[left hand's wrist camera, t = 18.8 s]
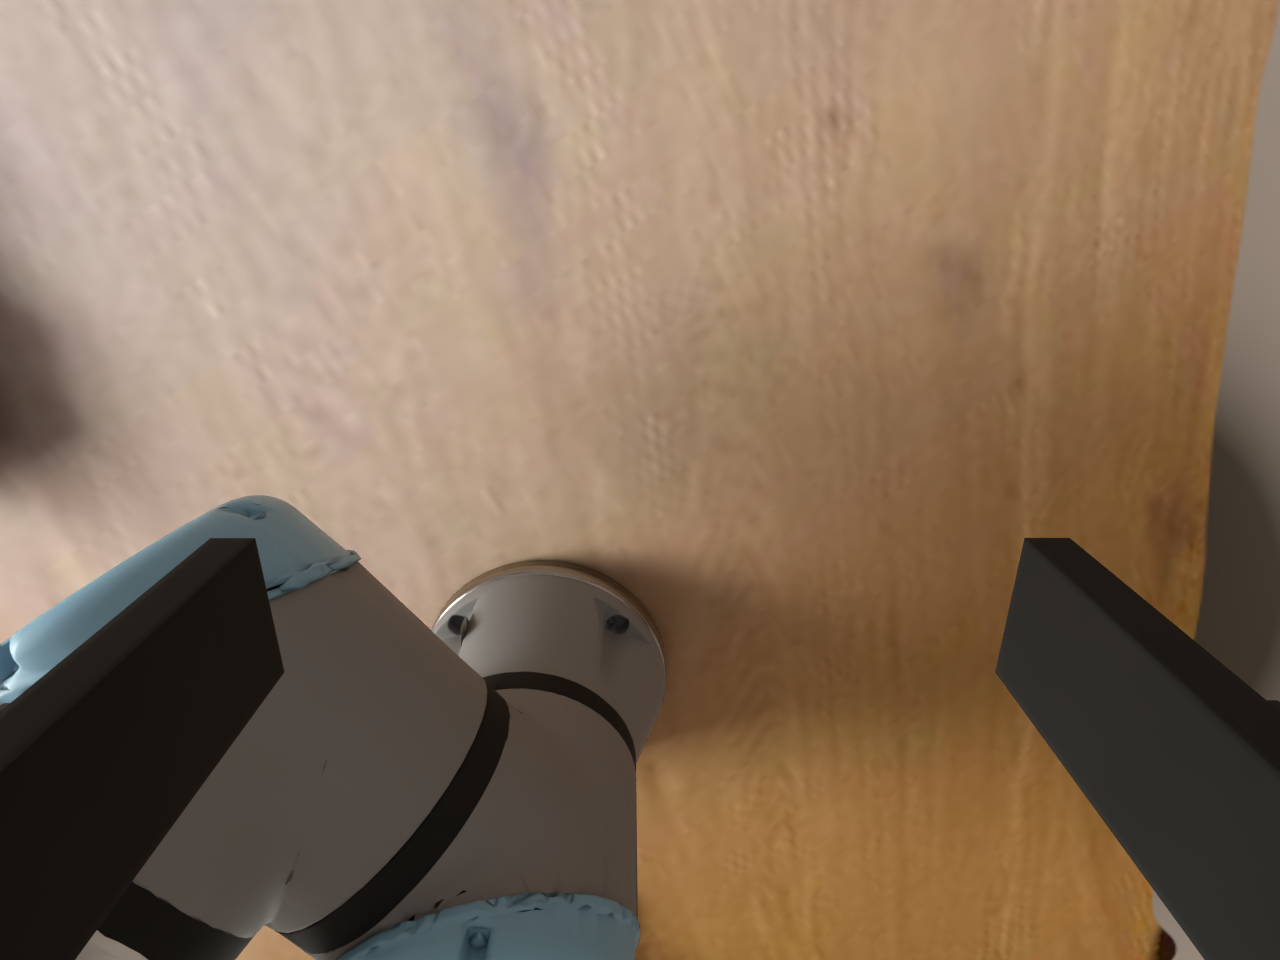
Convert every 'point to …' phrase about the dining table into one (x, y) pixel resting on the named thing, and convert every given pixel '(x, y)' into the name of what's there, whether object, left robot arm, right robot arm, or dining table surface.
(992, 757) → the dining table surface
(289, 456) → the dining table surface
